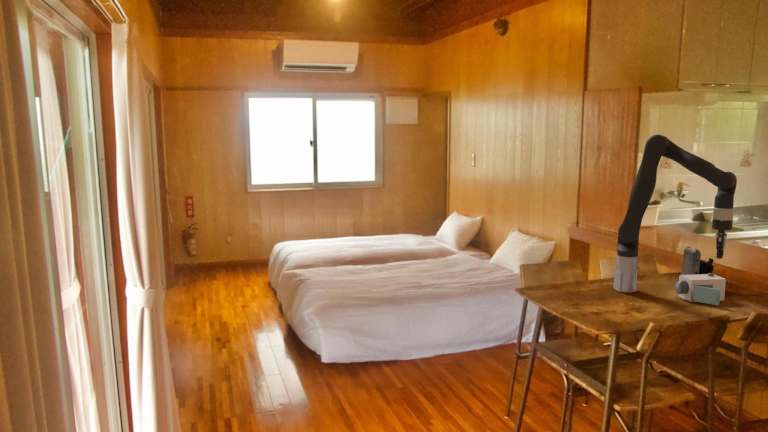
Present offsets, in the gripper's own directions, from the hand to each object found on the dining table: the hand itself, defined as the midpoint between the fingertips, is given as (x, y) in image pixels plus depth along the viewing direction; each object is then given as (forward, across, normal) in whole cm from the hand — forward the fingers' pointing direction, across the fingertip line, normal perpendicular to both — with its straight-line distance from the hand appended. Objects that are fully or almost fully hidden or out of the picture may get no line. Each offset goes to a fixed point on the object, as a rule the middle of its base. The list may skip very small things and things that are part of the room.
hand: (719, 257), depth 242 cm
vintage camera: (+21, -26, -9) cm, 35 cm away
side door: (+21, +3, -4) cm, 21 cm away
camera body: (+21, -5, -8) cm, 23 cm away
